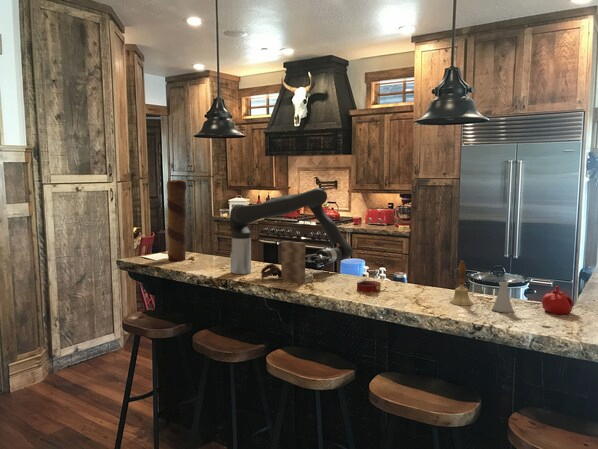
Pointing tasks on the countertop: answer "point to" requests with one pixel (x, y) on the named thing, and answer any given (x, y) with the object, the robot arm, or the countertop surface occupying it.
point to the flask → (503, 300)
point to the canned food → (369, 285)
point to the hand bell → (461, 289)
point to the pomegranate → (557, 302)
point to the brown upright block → (293, 263)
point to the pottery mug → (271, 271)
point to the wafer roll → (176, 219)
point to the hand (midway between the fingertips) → (307, 260)
